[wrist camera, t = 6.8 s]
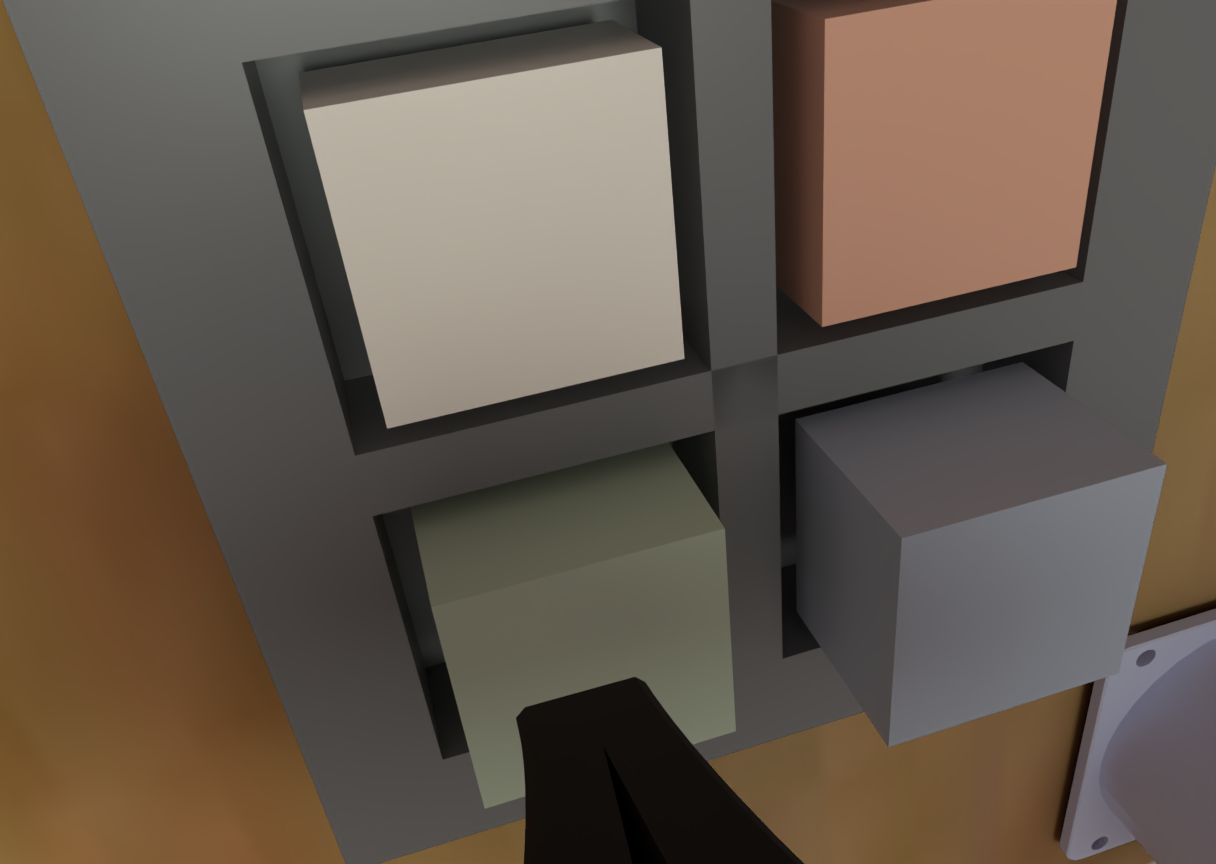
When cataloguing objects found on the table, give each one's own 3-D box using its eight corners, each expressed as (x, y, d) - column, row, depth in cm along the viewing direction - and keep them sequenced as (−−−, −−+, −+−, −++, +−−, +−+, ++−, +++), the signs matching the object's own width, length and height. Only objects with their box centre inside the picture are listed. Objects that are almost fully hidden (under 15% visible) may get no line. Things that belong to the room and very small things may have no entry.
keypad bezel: (1167, -281, 14) (1332, -301, 12) (1036, 561, 22) (1119, 640, 20) (7, -136, 11) (-55, -127, 9) (340, 764, 19) (350, 882, 17)
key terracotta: (1021, -50, 14) (1122, -33, 12) (993, 222, 16) (1076, 267, 15) (756, -4, 13) (824, 19, 12) (763, 274, 16) (822, 327, 14)
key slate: (1023, 361, 16) (1167, 464, 14) (998, 553, 19) (1118, 673, 16) (795, 419, 16) (901, 538, 13) (796, 611, 18) (888, 747, 15)
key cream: (611, 19, 13) (661, 47, 11) (639, 301, 15) (684, 358, 14) (298, 72, 12) (303, 109, 11) (373, 359, 14) (386, 428, 13)
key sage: (650, 415, 16) (725, 528, 14) (669, 601, 18) (736, 731, 16) (403, 475, 16) (431, 607, 13) (452, 662, 18) (484, 808, 15)
